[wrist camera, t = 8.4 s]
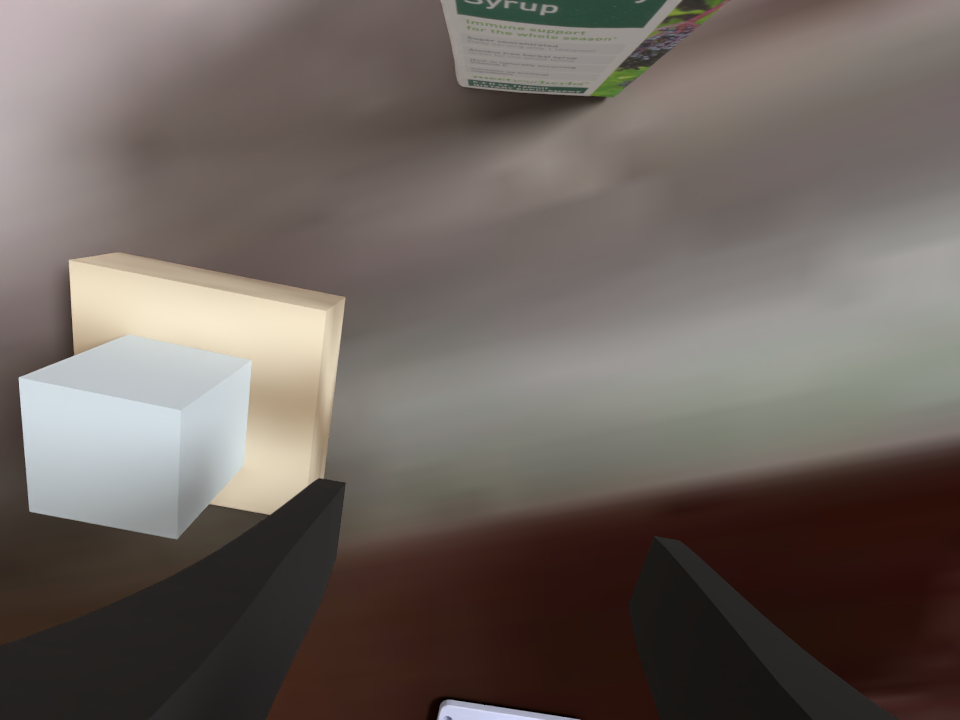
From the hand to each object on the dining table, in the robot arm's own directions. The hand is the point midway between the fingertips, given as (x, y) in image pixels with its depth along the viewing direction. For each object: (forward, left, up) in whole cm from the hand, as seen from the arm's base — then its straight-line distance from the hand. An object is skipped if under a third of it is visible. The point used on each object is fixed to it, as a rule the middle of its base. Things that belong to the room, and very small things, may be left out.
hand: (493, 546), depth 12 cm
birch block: (-2, +11, -11) cm, 16 cm away
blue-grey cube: (-2, +11, -8) cm, 14 cm away
